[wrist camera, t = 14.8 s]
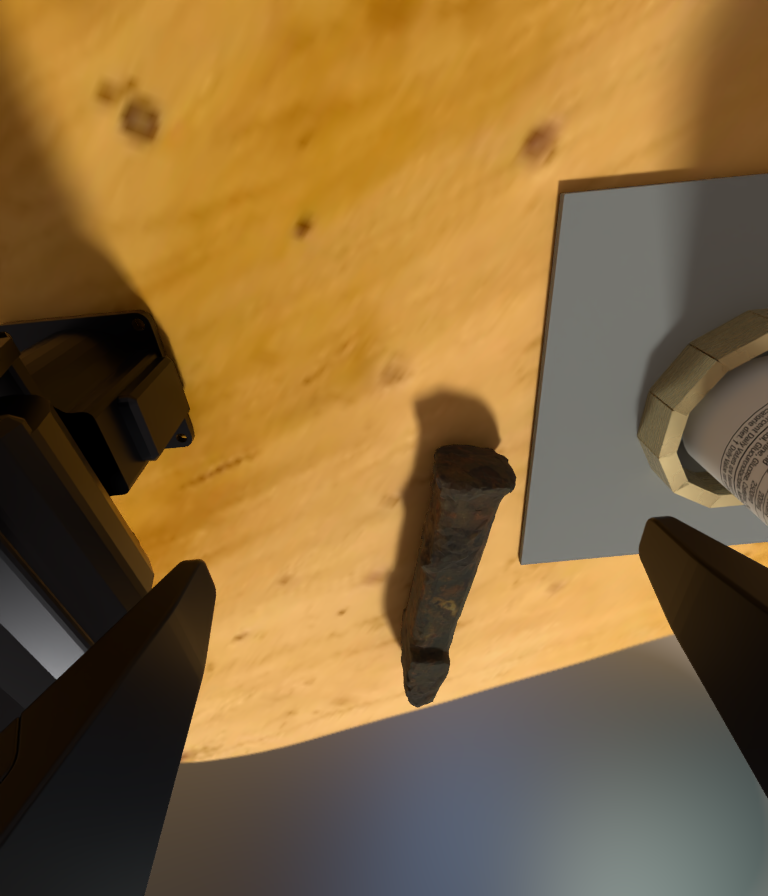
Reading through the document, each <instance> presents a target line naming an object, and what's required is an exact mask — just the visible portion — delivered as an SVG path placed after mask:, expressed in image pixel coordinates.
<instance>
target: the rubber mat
mask: <svg viewBox="0 0 768 896" xmlns="http://www.w3.org/2000/svg"><path fill="white" fill-rule="evenodd" d="M767 308H768V173H765V174H755V175H744V176H734V177H724V178H713V179H703V180H693V181H683V182H672V183H662V184H652V185H641V186H631V187H621V188H611V189H600V190H590V191H580V192H569V193H561V194H560V203H559V212H558V221H557V229H556V238H555V247H554V256H553V265H552V274H551V282H550V291H549V300H548V309H547V318H546V327H545V335H544V344H543V353H542V362H541V371H540V380H539V388H538V397H537V406H536V415H535V424H534V433H533V442H532V450H531V459H530V468H529V477H528V486H527V495H526V503H525V512H524V521H523V530H522V539H521V548H520V556H519V561H520V564H521V565H526V564H537V563H547V562H558V561H568V560H579V559H590V558H600V557H611V556H622V555H632V554H639V544H640V540H641V537H642V534H643V531H644V527H645V524H646V522H647V520H648V519H649V518H651V517H660V516H672V517H674V518H676V519H678V520H680V521H682V522H684V523H686V524H687V525H689V526H691V527H693V528H695V529H697V530H699V531H700V532H702V533H704V534H706V535H708V536H710V537H711V538H713V539H715V540H717V541H719V542H721V543H723V544H724V545H726V546H728V545H738V544H749V543H760V542H768V526H767V525H766V524H765V523H764V522H763V521H762V520H760V519H759V518H758V517H757V516H756V515H755V514H754V513H753V512H752V511H751V510H749V509H748V508H747V507H746V506H745V505H737V506H727V507H716V508H708V507H706V506H704V505H701V504H699V503H697V502H694V501H692V500H689V499H687V498H685V497H682V496H680V495H678V494H675V493H673V492H672V491H671V489H670V488H669V487H668V486H667V485H666V484H665V483H664V482H663V481H662V480H661V479H660V478H659V477H658V476H657V474H656V473H655V472H654V471H653V470H652V469H651V467H650V465H649V463H648V460H647V458H646V456H645V454H644V451H643V449H642V447H641V445H640V443H639V440H638V438H637V437H638V436H637V433H638V429H639V426H640V422H641V418H642V414H643V410H644V406H645V402H646V398H647V395H648V391H650V388H651V387H652V386H653V385H654V384H655V382H656V381H657V380H658V379H659V378H660V376H661V375H662V374H663V373H664V372H665V371H666V369H667V368H668V367H669V366H670V365H671V363H672V362H673V361H674V360H675V359H676V358H677V356H678V355H679V354H680V353H681V352H682V350H683V349H684V348H685V347H686V346H687V345H690V344H689V343H690V342H692V341H694V340H695V339H697V338H699V337H701V336H703V335H704V334H706V333H708V332H710V331H712V330H713V329H715V328H717V327H719V326H720V325H722V324H724V323H726V322H728V321H729V320H731V319H733V318H735V317H737V316H738V315H740V314H742V313H744V312H745V311H748V310H756V309H767ZM763 356H768V351H766V352H764V353H762V354H760V355H758V356H756V357H754V358H760V357H763ZM754 358H753V359H754ZM677 455H678V458H679V460H680V463H681V465H682V467H683V468H686V469H688V470H690V471H692V472H704V471H707V470H706V469H704V468H703V467H702V466H701V465H700V464H699V463H698V462H697V461H696V460H695V459H693V458H692V457H691V456H690V455H689V454H688V452H687V450H686V448H685V446H684V442H683V434H682V438H681V441H680V444H679V447H678V450H677Z"/></svg>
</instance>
